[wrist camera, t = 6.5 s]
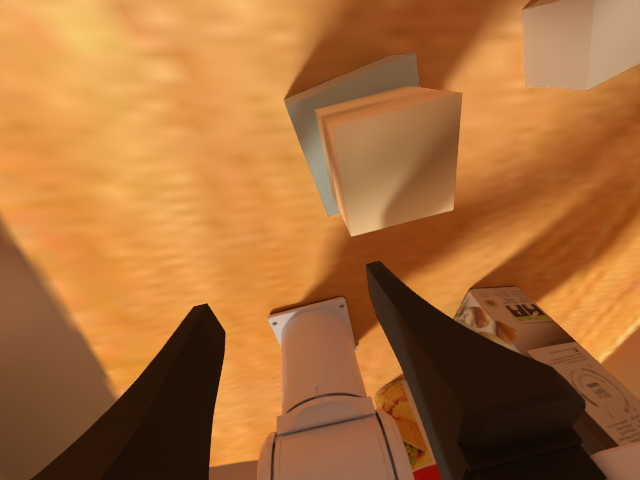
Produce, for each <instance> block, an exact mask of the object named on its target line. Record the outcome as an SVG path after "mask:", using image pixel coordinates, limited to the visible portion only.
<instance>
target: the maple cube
mask: <svg viewBox="0 0 640 480" xmlns="http://www.w3.org/2000/svg"><path fill="white" fill-rule="evenodd" d="M461 103H462V93H460V92H452V91H444V90H437V89H429V88H421V87H413V86H403V87H400V88H396V89H392V90H388V91H384V92H380V93H377V94H373V95H369V96H365V97H361V98H357V99H354V100H350V101H346V102H342V103H338V104H334V105H331V106H327V107H323V108H319V109H315V113H316V118H317V123H318V128H319V132H320V137H321V142H322V147H323V152H324V157H325V162H326V167H327V171H328V176H329V181H330V186H331V191H332V195H333V198H334V200H335V202H336V204H337V206H338V209H339V211H340V213H341V215H342V217H343V220H344V222H345V224H346V226H347V228H348V231H349V233H350V235H351V237H352V236H356V235H360V234H364V233H367V232H371V231H375V230H379V229H383V228H386V227H390V226H394V225H398V224H402V223H406V222H409V221H413V220H417V219H421V218H425V217H429V216H432V215H436V214H440V213H444V212H448V211H451V210H453V207H454V194H455V181H456V168H457V155H458V142H459V129H460V116H461Z"/></svg>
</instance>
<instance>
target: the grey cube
mask: <svg viewBox="0 0 640 480" xmlns="http://www.w3.org/2000/svg"><path fill="white" fill-rule="evenodd" d="M522 19H523V45H524V71H525V86H529V87H543V88H557V89H571V90H585V91H587V90H589V89H591V88H593V87H595V86H597V85H599V84H601V83H603V82H605V81H607V80H608V79H610V78H612V77H614V76H616V75H618V74H620V73H622V72H624V71H626V70H628V69H630V68H632V67H634V66H636V65H638V64H640V0H538V1H537V2H535V3H533V4H532V5H530V6H528V7H526V8H525V9H523V10H522Z"/></svg>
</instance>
